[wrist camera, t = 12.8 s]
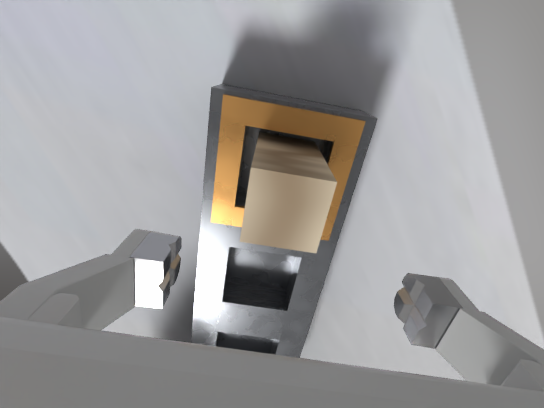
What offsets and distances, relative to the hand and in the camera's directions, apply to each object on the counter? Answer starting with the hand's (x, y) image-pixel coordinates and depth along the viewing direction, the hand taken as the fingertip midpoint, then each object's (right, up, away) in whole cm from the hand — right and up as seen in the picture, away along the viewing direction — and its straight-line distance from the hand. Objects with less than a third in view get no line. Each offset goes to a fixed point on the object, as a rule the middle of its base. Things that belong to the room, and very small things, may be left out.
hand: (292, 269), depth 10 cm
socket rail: (-2, -2, +15) cm, 16 cm away
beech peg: (0, +5, +11) cm, 12 cm away
